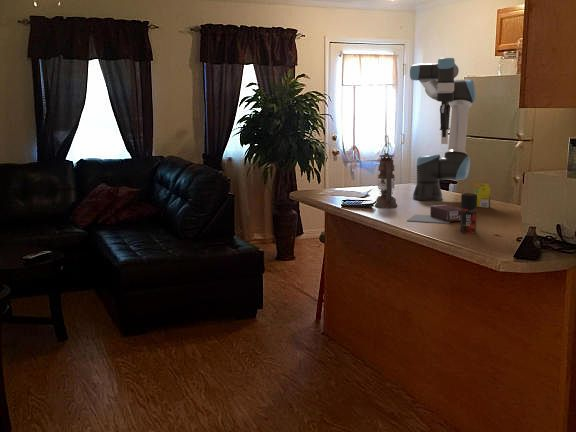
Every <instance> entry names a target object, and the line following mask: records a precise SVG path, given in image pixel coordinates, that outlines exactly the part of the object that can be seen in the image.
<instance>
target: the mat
mask: <svg viewBox="0 0 576 432" xmlns="http://www.w3.org/2000/svg"><path fill="white" fill-rule="evenodd" d="M406 222H410V223H411V222H415V223H426V224H427V223H430V224H443V223H444V224H445V225H450V223H451V222H448V221H445V220H442V219H439V218H436V217H433V216H430V214H416V213H415V214H413V216H411V217H410V218H408V219H407V220H406Z"/></svg>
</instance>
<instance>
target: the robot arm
mask: <svg viewBox="0 0 576 432" xmlns="http://www.w3.org/2000/svg"><path fill="white" fill-rule="evenodd" d="M455 61H456V60H455V58H454V57H440V58H438V59H437V63H416V64H412V65H411V66H410V69H409V77H410V80H411V81H416V82H417V81H418V82H419V83H420V84H421V85H422V86H423V88H424V91H425V94H426V95H427V96H428V97H429V98H430V99H432V100H435V101H436V102H440V103H441V105H439V106H440V107H439V115H440V116H439V117H440V121H439V122H440V128H439V131H440V133H441V134H440V135H441V139H440V141H441V142H440V145H448V149H447V151H446V152H444V156H441V155H440V153H433V154H432V153H431V154H425V155H421V156H418V157H417V160H416V185H415V187H414V191H413V194H412V199H414V200H416V201H423V202H424V201H426V202H428V201H429V202H430V201H433V202H434V201H441V200H442V199H443V193H442V190H441V186H440V180H449V181H450V180H451V181H453V180H454V181H460V180H461V181H463V180H466V179H467V178H468V176H469V174H470V173H469V172H470V168H471V157H469V154H468V153H467V152H466V146H467V145H466V144H467V136H468V135H467V133H468V123H469V122H468V120H469V111H470V109H469V108H471V107H472V106H473V103H475V102H476V101H477V100H476V99H477V98H476V97H477V96H476V95H477V94H476V87H475V86H476V85H475V81H474V80H473V79H465V78H464V79H455V78H456V77H457V76H458V75H459V70H460V69H459V67H458V65H457V64H456V62H455ZM450 113H451V114H450ZM450 115H451V116H450ZM448 135H449V136H448Z"/></svg>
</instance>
